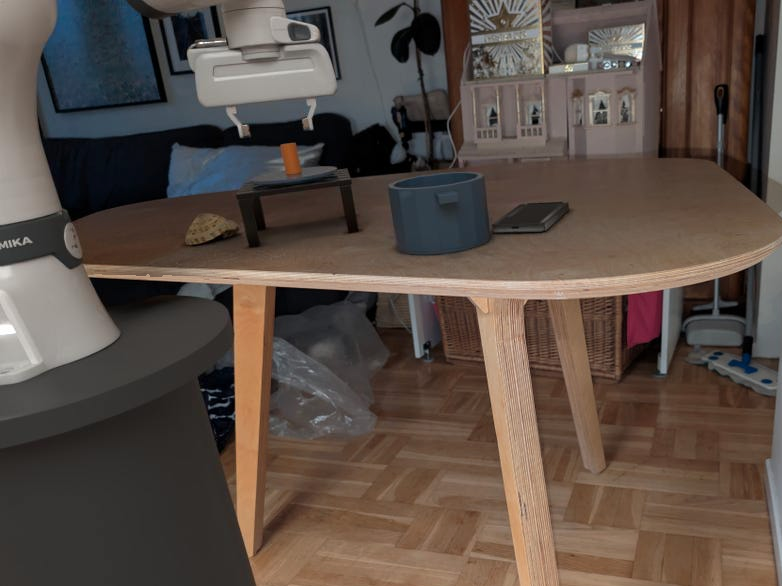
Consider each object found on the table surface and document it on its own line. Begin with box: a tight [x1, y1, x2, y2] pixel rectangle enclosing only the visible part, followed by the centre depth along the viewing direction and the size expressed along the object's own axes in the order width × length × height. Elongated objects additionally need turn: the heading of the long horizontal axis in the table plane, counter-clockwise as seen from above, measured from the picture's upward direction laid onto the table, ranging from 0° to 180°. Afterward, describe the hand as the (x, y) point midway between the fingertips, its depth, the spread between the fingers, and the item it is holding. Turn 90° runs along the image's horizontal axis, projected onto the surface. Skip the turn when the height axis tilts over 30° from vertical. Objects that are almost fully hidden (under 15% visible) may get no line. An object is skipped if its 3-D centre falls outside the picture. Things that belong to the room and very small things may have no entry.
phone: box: [491, 201, 570, 234], centre depth 102 cm, size 8×1×15 cm
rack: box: [235, 168, 360, 249], centre depth 113 cm, size 17×16×8 cm
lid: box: [249, 142, 338, 186], centre depth 110 cm, size 14×14×6 cm
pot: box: [387, 171, 491, 256], centre depth 94 cm, size 13×18×8 cm
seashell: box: [184, 212, 242, 246], centre depth 115 cm, size 8×6×8 cm
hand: (277, 134), depth 107 cm, fingers open, 8 cm apart
